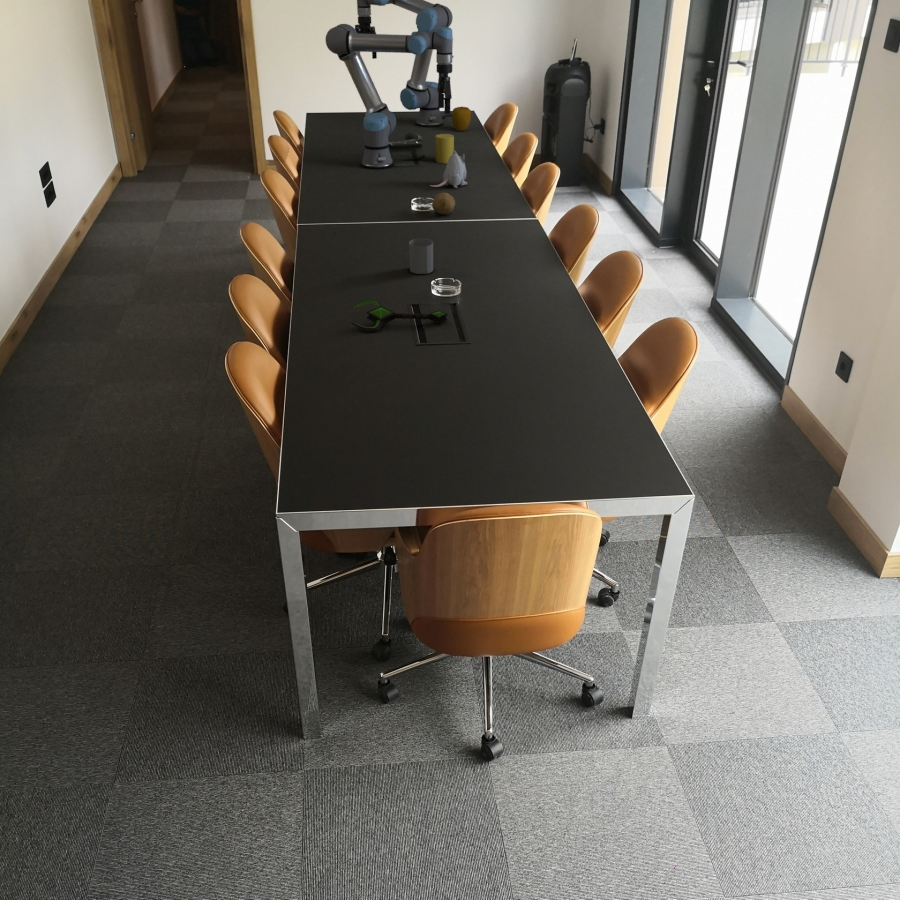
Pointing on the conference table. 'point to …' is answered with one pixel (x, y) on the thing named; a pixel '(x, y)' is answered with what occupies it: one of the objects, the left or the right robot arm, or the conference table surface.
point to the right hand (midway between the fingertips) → (366, 57)
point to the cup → (421, 256)
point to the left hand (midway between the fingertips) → (444, 110)
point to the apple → (461, 118)
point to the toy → (454, 171)
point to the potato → (443, 203)
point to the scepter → (393, 315)
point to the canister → (444, 147)
